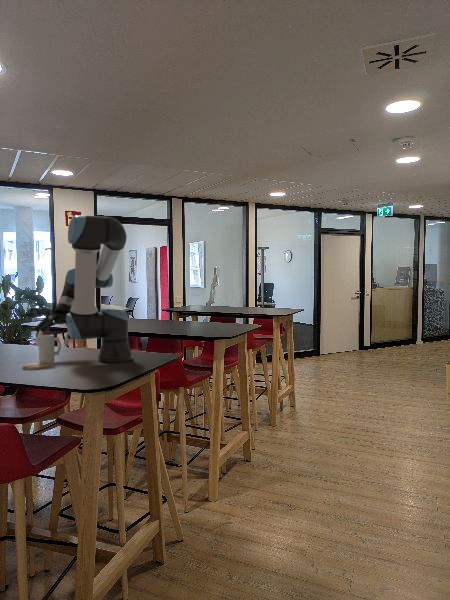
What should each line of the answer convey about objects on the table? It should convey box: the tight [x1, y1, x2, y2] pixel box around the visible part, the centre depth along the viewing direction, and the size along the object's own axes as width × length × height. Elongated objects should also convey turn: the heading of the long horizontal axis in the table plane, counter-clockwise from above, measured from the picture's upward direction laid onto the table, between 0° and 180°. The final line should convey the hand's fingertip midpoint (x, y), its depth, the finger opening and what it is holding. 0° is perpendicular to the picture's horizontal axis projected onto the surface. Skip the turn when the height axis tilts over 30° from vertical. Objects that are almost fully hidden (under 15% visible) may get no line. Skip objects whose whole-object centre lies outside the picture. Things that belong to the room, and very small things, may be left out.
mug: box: [37, 334, 62, 365], centre depth 206 cm, size 10×7×12 cm, turn 135°
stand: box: [22, 362, 51, 371], centre depth 196 cm, size 11×11×1 cm
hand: (51, 343), depth 209 cm, fingers open, 13 cm apart
